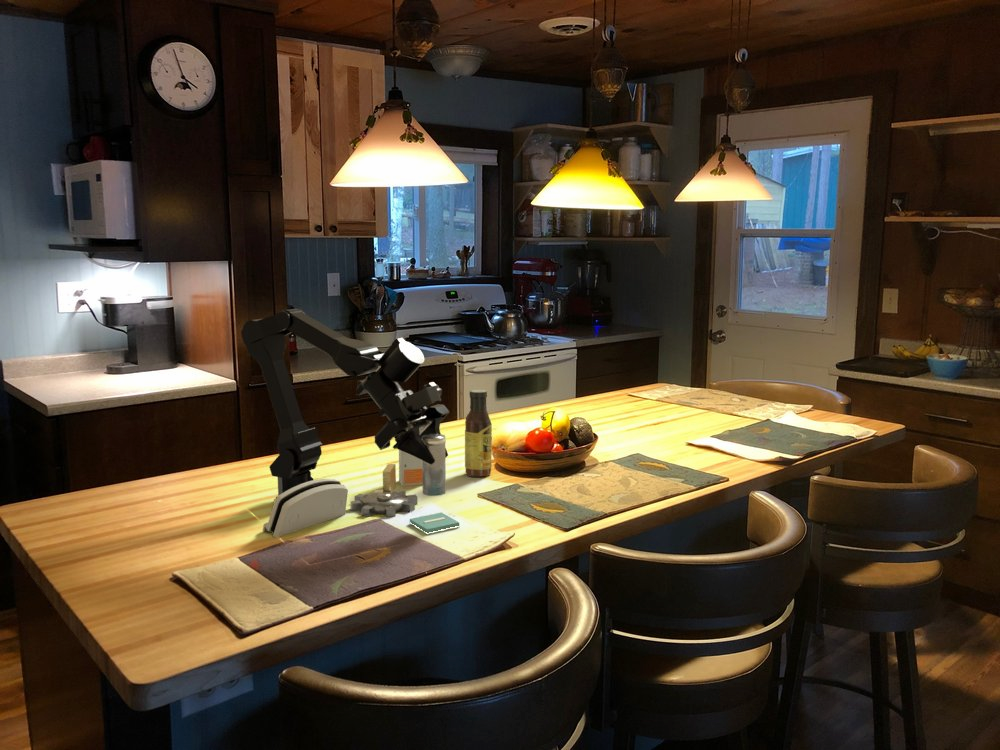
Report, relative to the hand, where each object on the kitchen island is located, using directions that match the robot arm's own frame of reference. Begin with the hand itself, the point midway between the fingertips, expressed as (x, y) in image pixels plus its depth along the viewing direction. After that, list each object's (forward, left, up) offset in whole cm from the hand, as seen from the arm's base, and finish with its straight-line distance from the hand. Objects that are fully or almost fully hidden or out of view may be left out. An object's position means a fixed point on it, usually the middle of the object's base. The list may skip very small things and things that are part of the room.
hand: (439, 459), depth 160 cm
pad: (-1, +1, -13) cm, 13 cm away
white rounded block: (-21, +15, -14) cm, 29 cm away
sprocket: (-3, +18, -13) cm, 23 cm away
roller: (-1, +1, -7) cm, 7 cm away
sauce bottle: (+25, +27, -14) cm, 39 cm away
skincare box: (+9, +29, -14) cm, 33 cm away
